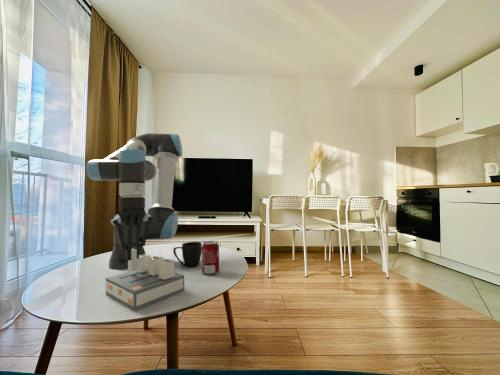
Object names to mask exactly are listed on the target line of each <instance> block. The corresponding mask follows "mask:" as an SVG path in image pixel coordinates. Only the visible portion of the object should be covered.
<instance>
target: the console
mask: <svg viewBox="0 0 500 375" xmlns="http://www.w3.org/2000/svg"><path fill="white" fill-rule="evenodd" d="M182 292H185V274H182V273H179V272H175V271H174V277H171V278H168V279H165V280H164V279H161V278H159V274H158V275H154V276H153V275H150V274H148V271H146V272H142V273H139V272H136V270H134V271H131V270H129V271H127V272H124V273H119V274H116V275H112V276H108V277H105V296H108V297H110V298H112V299H113V300H115V301H117V302H119V304H122V305H124V306H125V307H127V308H128V309H130V310H132V311H138V310H141V309H143V308H145V307H148V306H150V305H153V304H155V303H157V302H161V301H163V300H166V299H169V298H170V297H173V296H175V295H177V294H180V293H182Z"/></svg>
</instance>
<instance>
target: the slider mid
mask: <svg viewBox="0 0 500 375" xmlns="http://www.w3.org/2000/svg"><path fill="white" fill-rule="evenodd" d="M162 260H164V257H163V256H159V255H156V256H152V257H151V256H150V258H148V274H150V275H153V276H154V275H158V274H159V261H162Z"/></svg>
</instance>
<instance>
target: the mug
mask: <svg viewBox="0 0 500 375" xmlns="http://www.w3.org/2000/svg"><path fill="white" fill-rule="evenodd" d="M202 246H203V242H200V241H188V242H184V243H182V244H181V246H176V247H174V248H173V251H172V252H173V255H174V257H175V258H176V259H177V261H178V262H179V264H180V265H181V266H182V267H185V268H190V269H193V268H197V267H199V265H200V262H201V259H202ZM177 249H180V250H181V252H182V253H181V254H182V260H183V261H181V259H180V258H179V257H178V255H177V252H176V250H177Z"/></svg>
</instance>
